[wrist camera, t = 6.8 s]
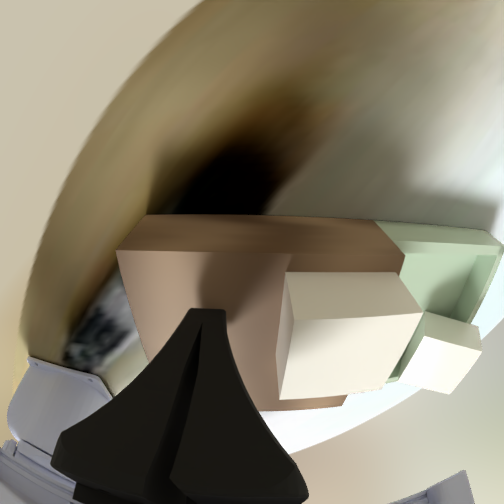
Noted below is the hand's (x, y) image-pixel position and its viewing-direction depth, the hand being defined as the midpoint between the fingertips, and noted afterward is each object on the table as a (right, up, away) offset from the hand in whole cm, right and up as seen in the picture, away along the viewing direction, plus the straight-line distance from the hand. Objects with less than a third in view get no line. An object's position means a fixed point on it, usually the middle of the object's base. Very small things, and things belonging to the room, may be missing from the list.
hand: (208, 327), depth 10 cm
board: (+2, 0, +5) cm, 5 cm away
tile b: (+5, 0, +1) cm, 5 cm away
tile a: (+14, -4, +3) cm, 15 cm away
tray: (+12, 0, +5) cm, 13 cm away
